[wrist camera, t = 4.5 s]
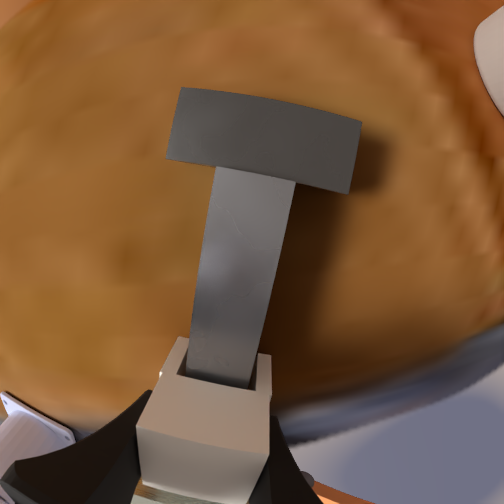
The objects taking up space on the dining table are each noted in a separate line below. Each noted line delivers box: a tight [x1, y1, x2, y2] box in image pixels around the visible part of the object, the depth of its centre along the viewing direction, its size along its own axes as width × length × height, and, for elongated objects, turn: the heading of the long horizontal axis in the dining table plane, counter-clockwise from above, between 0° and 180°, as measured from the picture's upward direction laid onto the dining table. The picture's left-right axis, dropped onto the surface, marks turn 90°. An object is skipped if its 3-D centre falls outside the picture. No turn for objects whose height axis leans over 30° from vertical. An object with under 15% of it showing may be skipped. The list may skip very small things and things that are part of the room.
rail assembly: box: [131, 87, 362, 504], centre depth 10 cm, size 18×8×6 cm, turn 169°
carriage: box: [136, 336, 272, 504], centre depth 10 cm, size 4×4×6 cm
